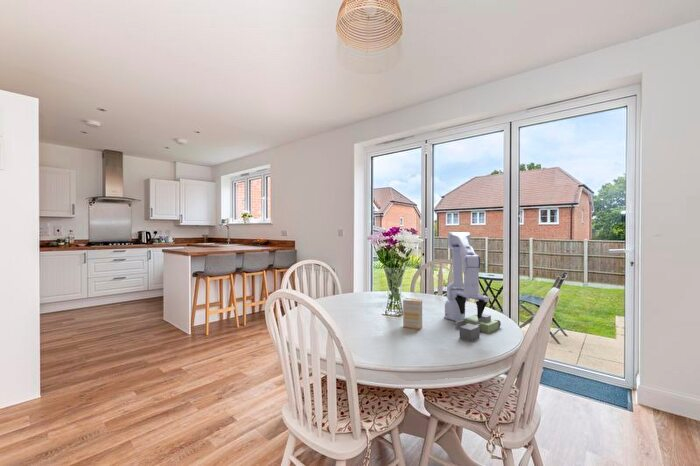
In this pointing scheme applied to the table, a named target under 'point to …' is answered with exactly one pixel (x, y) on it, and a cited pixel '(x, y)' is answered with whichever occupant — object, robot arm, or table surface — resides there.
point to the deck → (480, 323)
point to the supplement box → (412, 313)
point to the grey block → (469, 332)
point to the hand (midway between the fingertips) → (470, 315)
